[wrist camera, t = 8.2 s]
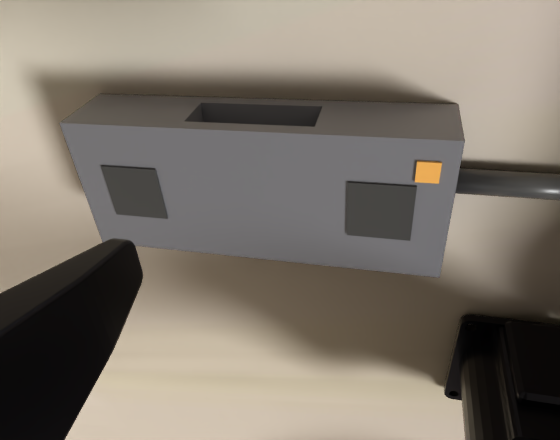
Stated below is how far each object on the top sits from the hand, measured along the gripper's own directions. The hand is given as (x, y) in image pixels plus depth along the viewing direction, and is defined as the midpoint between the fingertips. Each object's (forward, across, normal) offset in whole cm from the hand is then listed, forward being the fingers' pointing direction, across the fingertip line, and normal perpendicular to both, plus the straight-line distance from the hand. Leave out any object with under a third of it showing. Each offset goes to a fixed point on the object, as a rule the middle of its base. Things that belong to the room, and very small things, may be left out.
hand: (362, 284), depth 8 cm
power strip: (+12, +2, +4) cm, 12 cm away
